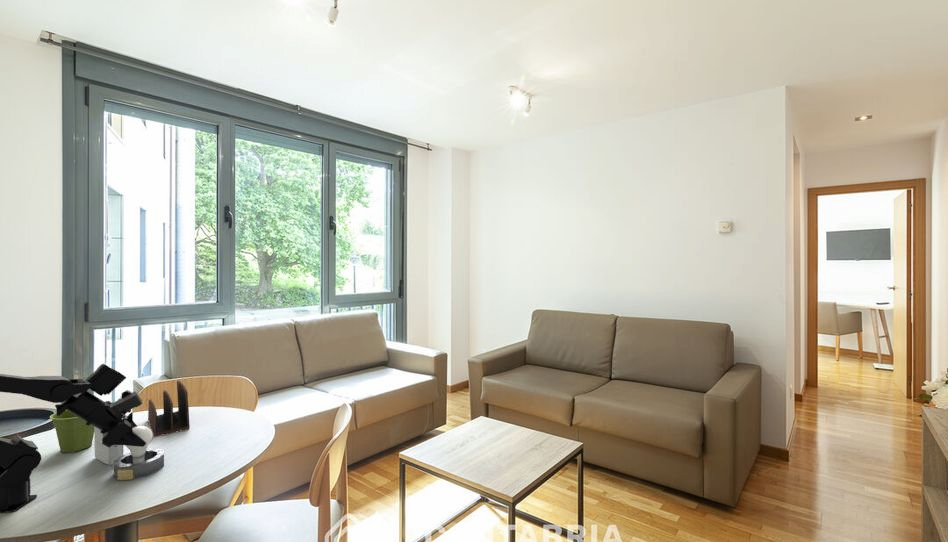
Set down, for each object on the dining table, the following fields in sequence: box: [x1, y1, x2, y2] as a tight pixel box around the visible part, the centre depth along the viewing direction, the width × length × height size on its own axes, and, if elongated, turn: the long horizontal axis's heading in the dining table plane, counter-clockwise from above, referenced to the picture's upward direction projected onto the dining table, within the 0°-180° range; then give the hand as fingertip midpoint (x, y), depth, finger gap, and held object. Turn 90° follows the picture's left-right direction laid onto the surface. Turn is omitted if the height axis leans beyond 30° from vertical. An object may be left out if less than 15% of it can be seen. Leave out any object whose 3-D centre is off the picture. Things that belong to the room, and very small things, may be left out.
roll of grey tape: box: [113, 448, 165, 481], centre depth 121 cm, size 12×11×4 cm
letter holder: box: [147, 380, 190, 437], centre depth 154 cm, size 10×20×14 cm, turn 42°
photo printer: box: [93, 426, 124, 466], centre depth 127 cm, size 10×4×12 cm, turn 60°
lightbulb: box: [124, 425, 154, 464], centre depth 121 cm, size 6×6×11 cm
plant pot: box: [49, 410, 94, 453], centre depth 135 cm, size 12×12×11 cm
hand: (144, 441), depth 122 cm, fingers closed on lightbulb, 6 cm apart
